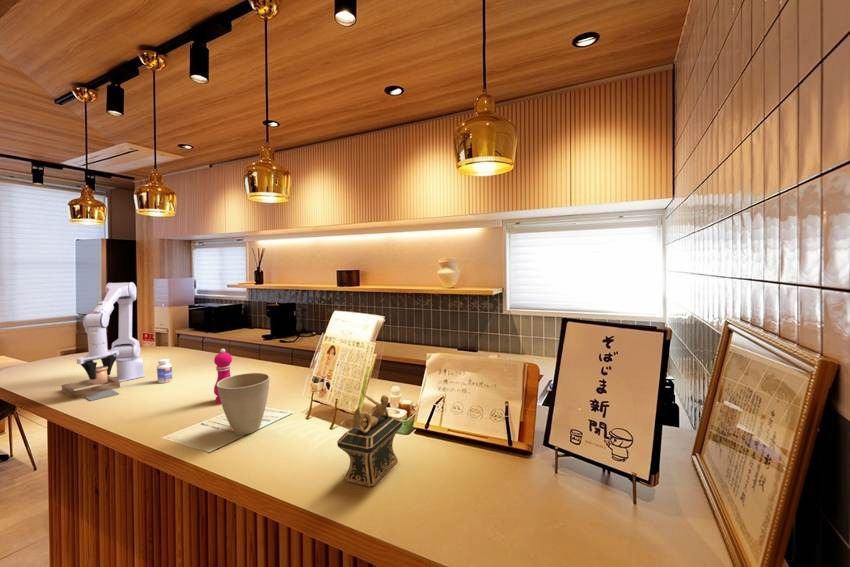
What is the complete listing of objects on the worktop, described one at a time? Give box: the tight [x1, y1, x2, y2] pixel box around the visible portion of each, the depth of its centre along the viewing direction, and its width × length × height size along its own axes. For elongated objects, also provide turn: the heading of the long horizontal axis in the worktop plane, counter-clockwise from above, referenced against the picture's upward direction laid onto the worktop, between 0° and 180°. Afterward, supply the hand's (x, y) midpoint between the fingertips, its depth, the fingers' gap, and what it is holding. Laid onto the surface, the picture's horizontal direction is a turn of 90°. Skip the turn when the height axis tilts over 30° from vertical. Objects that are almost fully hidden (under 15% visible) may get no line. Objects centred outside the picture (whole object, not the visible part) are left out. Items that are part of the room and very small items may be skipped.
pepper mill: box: [213, 348, 233, 405], centre depth 145 cm, size 7×7×20 cm
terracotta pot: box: [93, 365, 108, 385], centre depth 153 cm, size 5×5×6 cm
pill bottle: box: [156, 358, 173, 384], centre depth 170 cm, size 5×5×10 cm
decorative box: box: [336, 388, 403, 488], centre depth 94 cm, size 20×10×20 cm, turn 157°
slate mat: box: [83, 389, 120, 402], centre depth 154 cm, size 9×9×1 cm
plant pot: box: [217, 372, 271, 436], centre depth 119 cm, size 15×15×16 cm
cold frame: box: [61, 375, 121, 399], centre depth 161 cm, size 15×15×2 cm
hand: (100, 377), depth 153 cm, fingers closed on terracotta pot, 5 cm apart
